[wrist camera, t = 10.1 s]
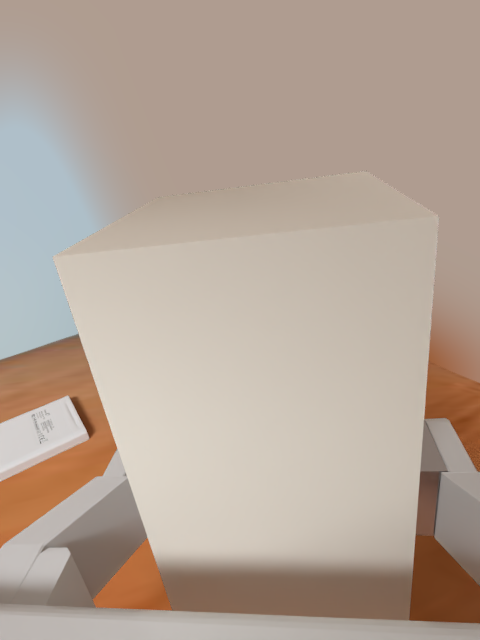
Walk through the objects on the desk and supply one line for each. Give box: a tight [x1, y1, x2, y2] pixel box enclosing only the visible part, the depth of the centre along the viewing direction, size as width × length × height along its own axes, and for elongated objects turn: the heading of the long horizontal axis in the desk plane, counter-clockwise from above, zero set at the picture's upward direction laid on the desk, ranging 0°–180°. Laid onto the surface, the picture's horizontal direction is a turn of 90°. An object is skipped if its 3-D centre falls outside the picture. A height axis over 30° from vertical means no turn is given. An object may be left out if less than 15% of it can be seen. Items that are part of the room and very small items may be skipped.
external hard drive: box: [0, 396, 89, 482], centre depth 39 cm, size 2×8×12 cm
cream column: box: [53, 171, 439, 621], centre depth 10 cm, size 4×4×14 cm
